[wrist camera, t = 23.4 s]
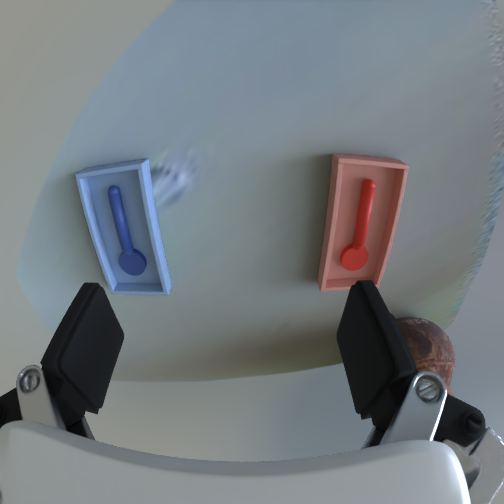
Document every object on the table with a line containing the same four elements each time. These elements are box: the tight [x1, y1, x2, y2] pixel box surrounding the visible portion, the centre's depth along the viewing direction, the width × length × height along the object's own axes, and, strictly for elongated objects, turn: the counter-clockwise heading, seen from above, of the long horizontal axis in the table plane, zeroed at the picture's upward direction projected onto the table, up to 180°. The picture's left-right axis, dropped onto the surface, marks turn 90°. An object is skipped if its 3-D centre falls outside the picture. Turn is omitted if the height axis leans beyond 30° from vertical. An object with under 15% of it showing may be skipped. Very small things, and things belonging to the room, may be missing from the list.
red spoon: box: [340, 179, 376, 271], centre depth 32 cm, size 13×4×2 cm, turn 1°
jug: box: [396, 318, 455, 397], centre depth 37 cm, size 22×21×25 cm
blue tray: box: [75, 159, 172, 295], centre depth 32 cm, size 18×9×2 cm, turn 1°
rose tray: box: [317, 153, 409, 291], centre depth 32 cm, size 18×9×2 cm, turn 1°
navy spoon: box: [107, 185, 147, 276], centre depth 32 cm, size 13×4×2 cm, turn 1°
